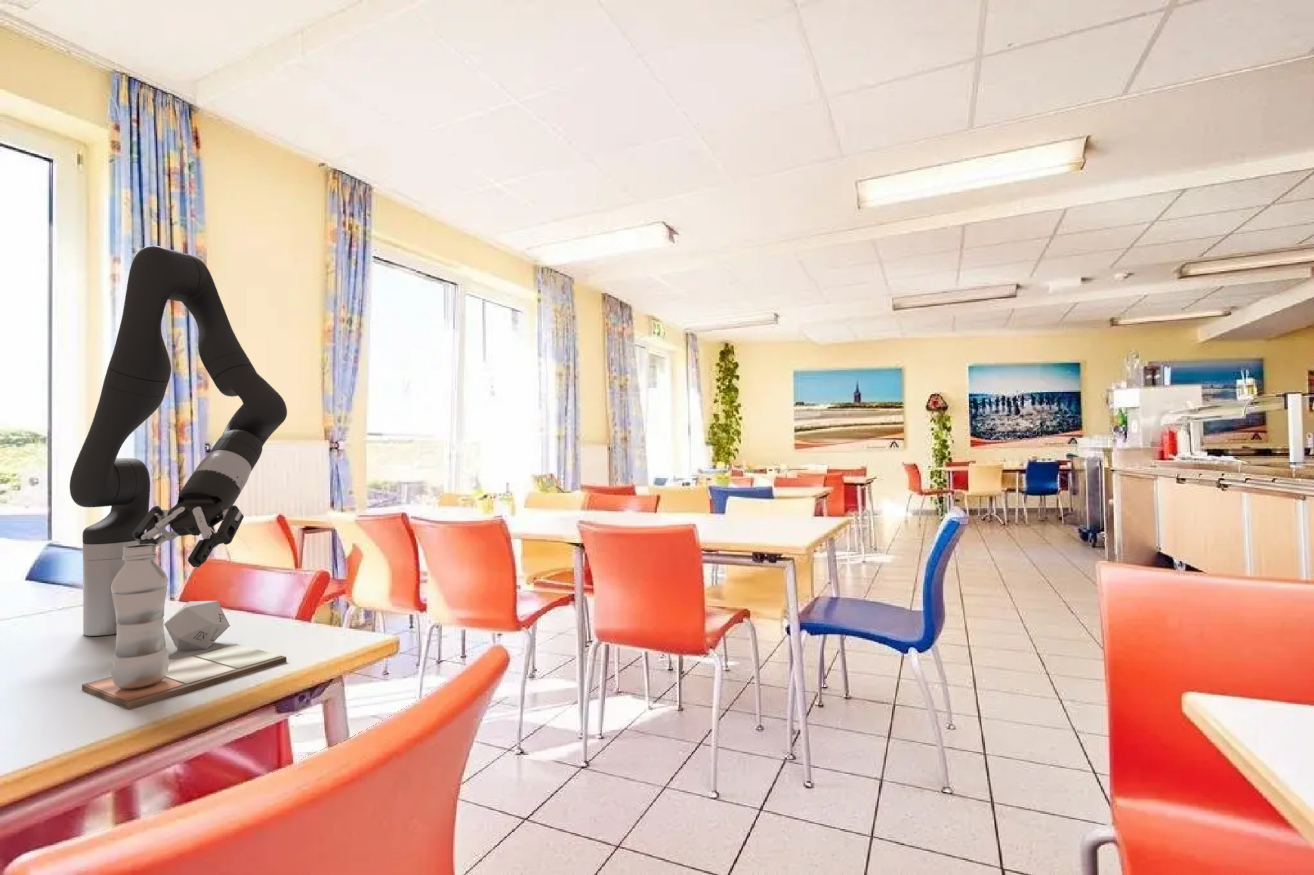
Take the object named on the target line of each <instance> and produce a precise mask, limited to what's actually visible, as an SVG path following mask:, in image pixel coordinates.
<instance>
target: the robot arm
mask: <svg viewBox="0 0 1314 875" xmlns="http://www.w3.org/2000/svg"><path fill="white" fill-rule="evenodd" d="M168 300H169V301H174V302H181V303H182V304H183V305H184V306H185V307H186V309H187V310H188V311H189V312H190V314H191V315H192V316H193V319H194V320H195V323H196V326H197V330H198V332H197V333H198V337H197V349H198V355H199V358H200V360H201V363H202V365H203V367H204V368H205V370H206V372H207V373H208V375H209V377H210V378H211V380H212V382H213V384H214V385H215V387H216V388H217V390H218V391H219V392H220V393H221V395H224V396H227V397H239V398H240V400H241V402H242V405H240V407H239V408H238V409H237V410H236V411H235V412H234V414H232V415H233V416H232V417H231V418H230V420H229V421H228V423H227V425H226V426H225V428H224V430H223V433H222V434H221V436H220V437H219V438H218V439H217V441H216V442H215V444H214V445H213V447H211V449H210V451H209V452H208V454H207V455H206V456H205V457H204V458H203V459H202V460H201V461H200V462H199V464H198V466H197V467H196V468H195V469H194V471H193V472H192V474H191V475H190V477H189V478H188V480H187V481H186V483H185V484H184V486H183V487H182V488H181V490H180V491H179V493H178V497H177V503H176V504H175V505H174V506H173V507H171V508H170V509H161V507H160V506H159V505H155V506H153V507H151V509H150V498H151V496H150V495H151V477H150V473H149V470H148V468H147V465H146V464H145V463H144V462H143V461H142V460H141V459H138V458H133V457H130V458H129V457H128V458H127V457H126V458H125V457H119V458H117V456H118V454H119V452H120V449H121V448H122V446H123V445H124V443H125V441H126V440H127V439H128V438H129V436H131V434H132V433H133V432H134V431H135V430H136V429H137V428H139V427H140V426H141V425H142V424H143V423H144V422H145V421H146V420H148V419H149V418H150V417H151V416H152V415H153V414H154V413H155V412H156V410H158V409H159V408H160V406H161V404H162V402H163V400H164V397H165V395H166V392H167V390H168V385H169V381H170V378H171V375H172V365H171V360H170V356H169V353H168V349H167V346H166V344H165V341H164V337H163V334H162V322H163V316H164V312H165V308H166V305H167V303H168ZM222 302H223V301H222V300H221V297H220V295H219V292H218V289H217V285H216V283H215V281H214V279H213V276H212V275H211V271H210V270H209V269H208V267H207V265H206V264H205V263H204V261H203V260H201V259H200V258H198V257H197V256H195V255H192V254H189V253H185V252H181V251H178V250H174V249H170V248H166V247H162V246H159V245H147V246H144V247H143V248H141V249H140V250H139V251H138V252H137V253H136V254H135V256H134V258H133V260H132V262H131V265H130V268H129V273H128V277H127V284H126V291H125V297H124V303H123V309H122V315H121V319H120V324H119V329H118V333H117V336H116V339H115V344H114V348H113V350H112V354H111V357H110V359H109V362H108V366H107V368H106V372H105V375H104V379H103V382H102V383H103V384H102V387H101V393H100V395H99V399H98V403H97V406H96V410H95V413H94V416H93V419H92V421H91V424H90V428H89V431H88V433H87V435H86V438H85V440H84V442H83V445H82V447H81V449H80V451H79V453H78V456H77V458H76V460H75V463H74V465H73V469H72V472H71V475H70V480H69V494H70V496H71V499H72V501H73V502H74V503H75V504H76V505H77V506H80V507H82V508H103V507H111V508H110V511H109V513H108V514H107V515H106V516H105V517H104V518H103V519H101V520H99V521H97V522H96V523H92V524H91V525H89V526H87V527H85V528H84V530H83V531H82V596H83V598H82V600H83V601H82V611H83V612H82V618H83V619H82V621H83V622H82V623H83V624H82V627H83V628H82V631H83V632H82V633H83V635H84V636H87V637H88V636H91V637H94V636H95V637H96V636H107V635H108V636H109V635H115V634H116V635H117V627H116V626H117V623H116V613H115V607H114V602H113V597H112V591H111V585H112V582H113V579H114V578H115V576H116V575H117V574H118V572H119V571H120V570H121V569H122V567H123V566H124V565H125V561H124V560H122V557H123V549H124V548H123V547H126V546H131V545H140V544H155V551H156V550H157V547H158V546H160V545H162V544H163V543H165V542H167V541H169V542H171V541H173V540H174V539H176V538H177V537H180V536H181V537H182V536H190V535H191V536H196V537H197V536H200V534H201V538H202V539H199V540H198V541H197V543H196V545H195V547H194V548H193V549H192V551H191V553H190V554H189V556H188V558H187V562H188V563H189V564H190V565H191V567H193V568H201V566H202V565H203V564H204V563H205V562H207V560H208V558H209V556H210V555H211V553H212V551H213V550H214V548H217V547H218V546H219V545H222V544H223V545H225V546H226V545H229V544H231V543H232V542H233V540H234V537H235V535H236V534H237V531H238V530H239V527H240V526H241V524H242V521H243V519H244V514H243V513H242V511H241V510H240V509H239V507H238V506H237V505H235V503H236V501H237V499H238V497H239V496H240V494H241V493H242V491H243V489H244V487H246V486H245V485H247V483H248V480H249V477H250V475H251V473H252V472H253V470H254V468H255V466H256V464H257V463H258V461H259V460H260V457H261V455H262V452H263V446H264V445H265V443H266V442H267V441H268V439H269V438H270V437H271V435H273V433H274V432H275V431H276V430H277V429H278V428H279V427H280V426H281V425H282V424H283V423H284V422H285V421H286V418H287V416H288V408H287V405H286V402H285V400H284V398H283V397H282V395H281V394H280V393H279V392H277V390H276V389H275V388H274V387H273V386H271V384H270V383H269V382H267V380H265V379H264V378H263V376H261V375H260V374H259V373H258V372H257V370H256V368H255V367H254V366H253V364H252V362H251V360H250V358H249V357H248V355H247V354H246V352H245V350H244V349H243V346H242V345H241V343H240V342H239V339H238V338H237V335H236V334H235V332H234V330H233V327H232V325H231V323H230V321H229V318H228V315H227V312H226V310H225V307H224V305H223V303H222ZM220 522H221V523H220ZM219 523H220V525H219V527H218V529H217V530H216V528H215V526H216V525H218V524H219ZM169 525H170V529H171V531H168V530H167V529H166V527H167V526H169ZM158 534H161V535H159V536H158V537H156V536H157V535H158ZM154 537H156V538H154Z"/></svg>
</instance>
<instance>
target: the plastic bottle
mask: <svg viewBox="0 0 1314 875" xmlns="http://www.w3.org/2000/svg"><path fill="white" fill-rule="evenodd" d="M123 548H124V549H123V557H122V560H124V561H125V565H124V566H123V567H122V569H121V570H120V571H119V572H118V574H117V575H116V576H115V578H114V579H113V582H112V585H111V591H112V597H113V602H114V607H115V613H116V623H117V626H116V627H117V634H116V636H115V637H116V639H115V649H114V650H115V651H114V656H113V659H112V660H113V661H112V664H111V670H110V675H111V677H112V679H113V683H114V684H115V685H116V686H117V687H118V688H121V689H131V688H140V687H144V686H148V685H151V684H155V683H157V682H159V681H161V680H163V679H164V677H165V676H166V674H167V673H168V667H169V661H170V657H169V653H168V649H167V648H166V646H167V645H166V638H165V637H166V635H165V629H164V627H165V625H164V624H165V622H164V621H165V620H164V616H165V605H166V599H167V598H166V596H167V592H168V585H169V584H168V583H169V578H168V576H167V573H166V572H165V571H164V570H163V569H162V567H161V566H160V564H158V563H157V562H156V561H155V558H157V553H156V550H155V544H140V545H131V546H126V547H123Z"/></svg>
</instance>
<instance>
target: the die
mask: <svg viewBox="0 0 1314 875" xmlns="http://www.w3.org/2000/svg"><path fill="white" fill-rule="evenodd" d="M163 626H164V627H165V629H166V631H167V632H168V635H169V636H170V638H171V641H172V642H173V644H174V646H175V648H176V650H179V651H180V650H181V651H183V650H208V648H210V647H211V646H212V645H213V643H215V641H217V640H218V638H219V637H220V636H222V635H223V634H224V633H225V631H227V630H228V628H230V626H231V624H230V623H229V621H228V619H227V617H226V615H225V612H224V611H223V609H222V607H221V605H220V602H219V601H218V600H199V601H198V600H197V601H196V600H195V601H193V600H192V601H191V600H189V601H187V603H186V604H184V605H183V606H182V607H181V608H180V609H179V610H178V611H177V612H175V613H174V615H172V616H171V617H169V619H168V620H167V621H166V622H164V625H163Z"/></svg>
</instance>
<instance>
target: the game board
mask: <svg viewBox="0 0 1314 875" xmlns="http://www.w3.org/2000/svg"><path fill="white" fill-rule="evenodd" d="M285 663H287V656H286V655H281V654H276V653H272V652H268V651H265V650H260V649H258V648H253V647H250V646H246V645H243V644H242V645H241V644H238V643H235V644H231V645H227V646H223V647H219V648H216V649H213V650H209V651H204V652H201V653H196V654H193V655H190V656H185V657H181V658H178V659H174V660H169V667H168V673H167V674H166V676H165V677H164V679H163V680H161V681H159V682H157V683H155V684H151V685H148V686H144V687H140V688H131V689H121V688H118V687H117V686H116V685H115V684H114V683H113V679H112V676H109V677H105V678H102V679H98V680H94V681H90V682H86V683H83V684H81V690H82V691H83V692H86V693H89V694H91V695H93V696H96V697H98V698H99V699H102V700H105V701H108V702H110V703H112V704H115V705H117V706H120V707H122V708H125V709H127V710H133V709H137V708H140V707H143V706H147V705H149V704H153V703H156V702H160V701H163V700H165V699H166V700H167V699H170V698H172V697H176V696H179V695H182V694H186V693H189V692H192V691H195V690H198V689H202V688H205V687H208V686H211V685H215V684H218V683H219V684H220V683H222V682H225V681H228V680H231V679H234V678H237V677H242V676H245V675H247V674H251V673H255V672H259V671H261V670H265V669H268V668H271V667H274V666H278V665H281V664H285Z"/></svg>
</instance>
